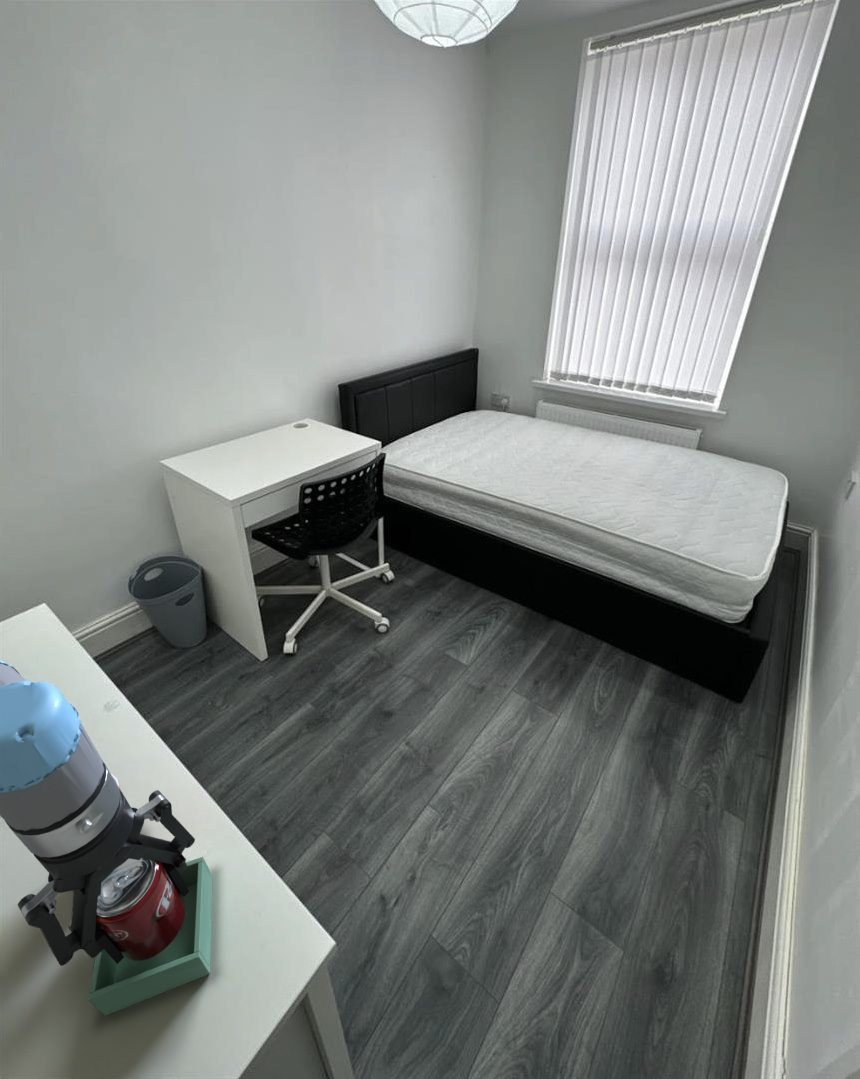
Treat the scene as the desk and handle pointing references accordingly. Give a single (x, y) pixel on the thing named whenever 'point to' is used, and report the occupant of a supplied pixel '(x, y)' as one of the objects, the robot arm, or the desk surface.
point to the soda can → (140, 908)
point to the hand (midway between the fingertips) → (149, 917)
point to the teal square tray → (161, 953)
